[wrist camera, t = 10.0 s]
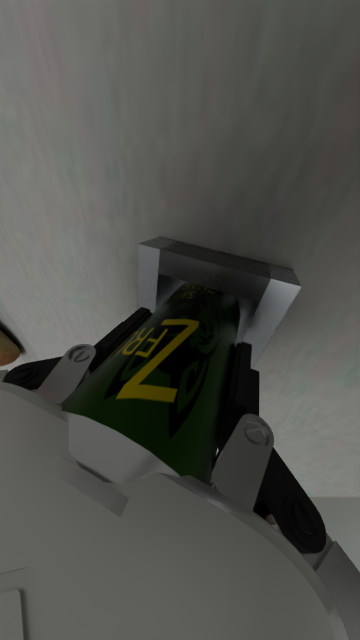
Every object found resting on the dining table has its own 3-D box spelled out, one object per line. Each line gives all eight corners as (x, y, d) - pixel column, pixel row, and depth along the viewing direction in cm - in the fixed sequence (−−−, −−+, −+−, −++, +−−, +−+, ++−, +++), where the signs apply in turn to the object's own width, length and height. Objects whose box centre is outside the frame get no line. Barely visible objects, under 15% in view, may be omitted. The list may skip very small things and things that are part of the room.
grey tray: (159, 236, 13) (138, 243, 11) (293, 269, 11) (301, 286, 9) (150, 355, 21) (137, 374, 19) (230, 387, 19) (226, 413, 17)
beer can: (250, 331, 14) (229, 607, 4) (189, 341, 16) (93, 524, 7) (227, 264, 12) (102, 490, 2) (163, 288, 15) (-16, 438, 5)
